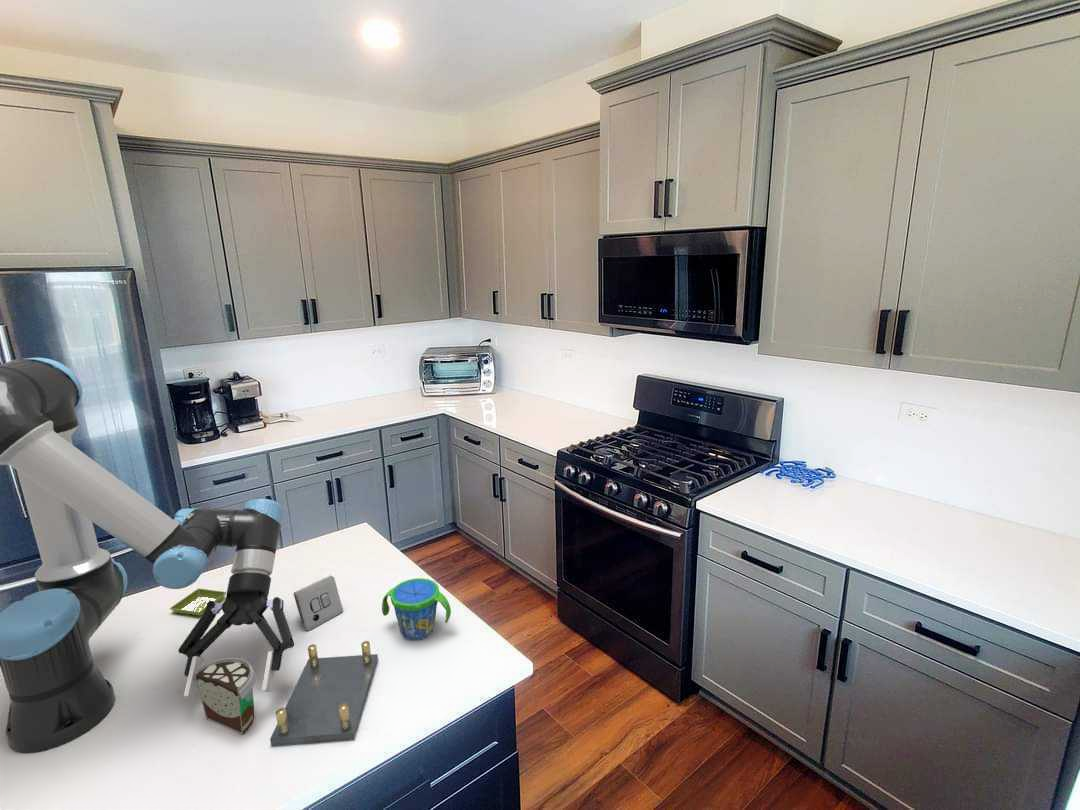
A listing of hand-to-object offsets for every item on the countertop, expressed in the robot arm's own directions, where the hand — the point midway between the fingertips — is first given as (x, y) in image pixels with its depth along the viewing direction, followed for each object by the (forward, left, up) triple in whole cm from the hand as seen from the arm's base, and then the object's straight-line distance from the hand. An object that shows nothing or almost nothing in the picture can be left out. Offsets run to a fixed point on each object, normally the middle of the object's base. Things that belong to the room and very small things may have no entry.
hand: (228, 693), depth 101 cm
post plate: (+17, +2, -5) cm, 18 cm away
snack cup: (+31, +21, -5) cm, 38 cm away
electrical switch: (+7, +28, -5) cm, 30 cm away
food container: (+1, 0, -5) cm, 5 cm away
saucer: (-24, +36, -5) cm, 44 cm away
